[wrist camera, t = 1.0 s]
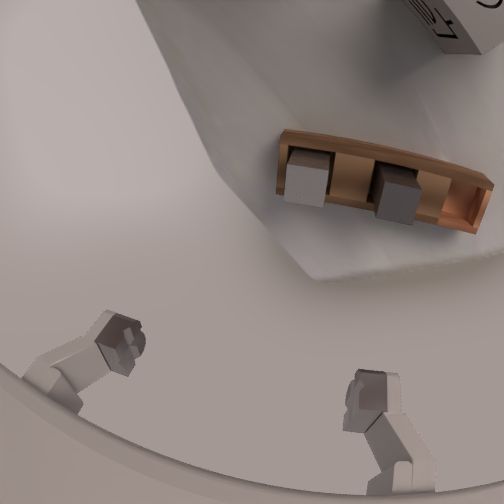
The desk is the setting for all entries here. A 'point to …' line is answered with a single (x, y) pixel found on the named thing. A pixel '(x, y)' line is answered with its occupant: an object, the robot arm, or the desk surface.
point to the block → (394, 192)
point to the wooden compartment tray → (423, 168)
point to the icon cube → (462, 23)
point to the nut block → (307, 176)
